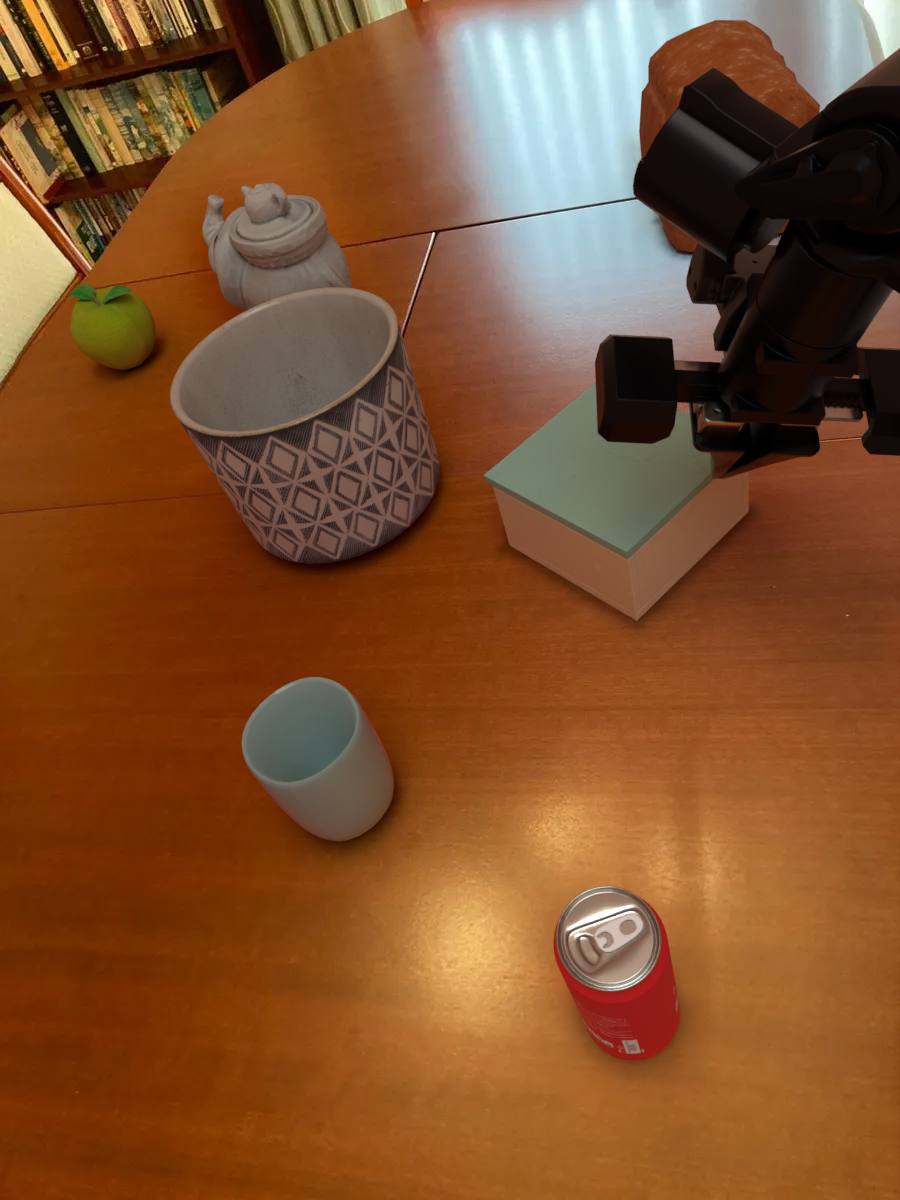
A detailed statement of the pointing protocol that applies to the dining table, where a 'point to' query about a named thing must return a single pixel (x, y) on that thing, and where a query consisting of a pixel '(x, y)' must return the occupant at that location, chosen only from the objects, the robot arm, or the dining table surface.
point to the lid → (603, 477)
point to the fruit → (112, 326)
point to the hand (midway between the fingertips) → (716, 472)
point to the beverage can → (619, 971)
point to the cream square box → (650, 566)
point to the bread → (736, 56)
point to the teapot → (272, 247)
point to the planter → (312, 423)
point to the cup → (320, 758)
